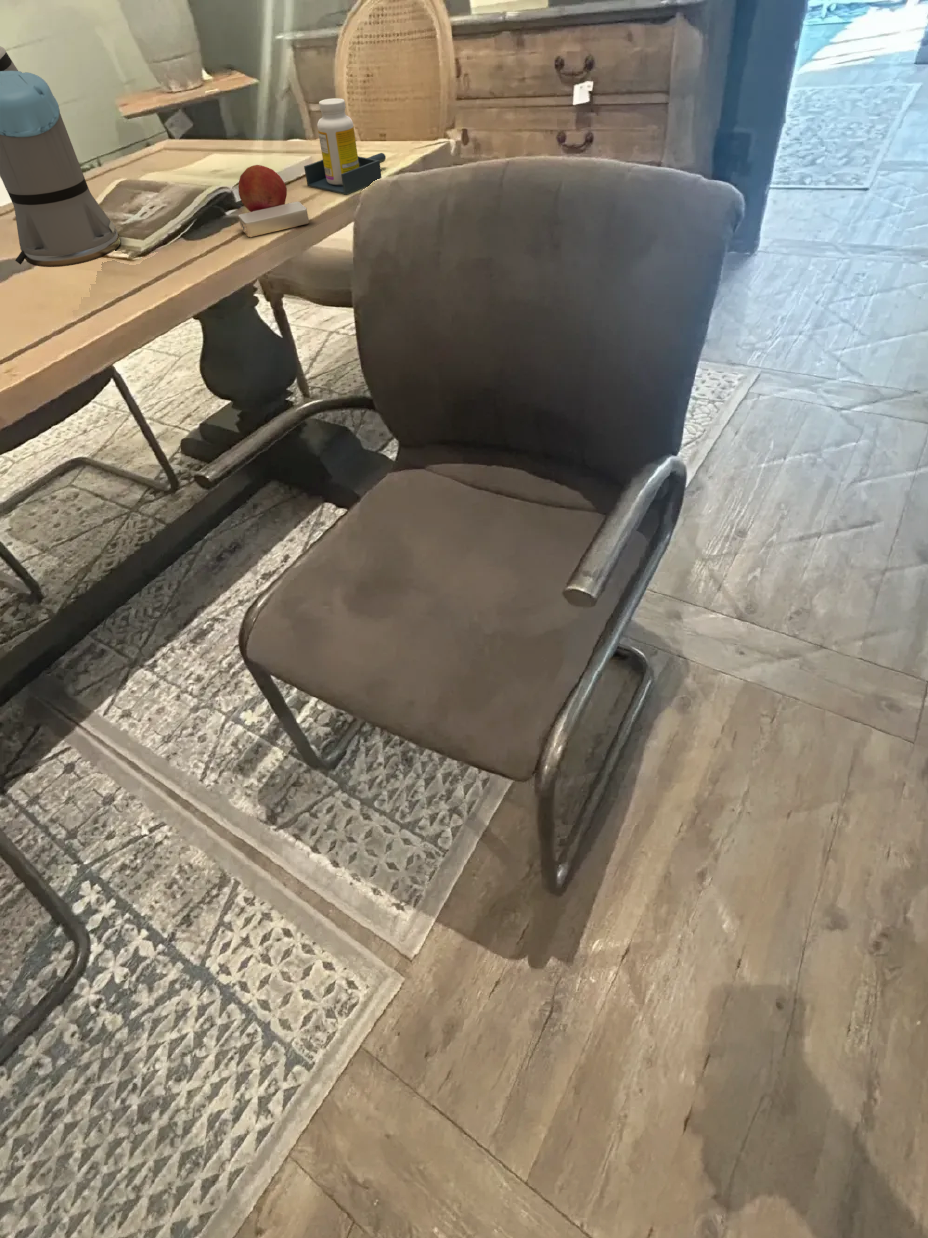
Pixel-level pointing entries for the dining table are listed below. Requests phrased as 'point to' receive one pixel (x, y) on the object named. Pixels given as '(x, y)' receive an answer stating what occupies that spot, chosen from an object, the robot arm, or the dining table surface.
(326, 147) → the supplement bottle
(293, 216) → the multiport hub
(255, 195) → the fruit
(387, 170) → the dining table surface
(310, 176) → the scoop
